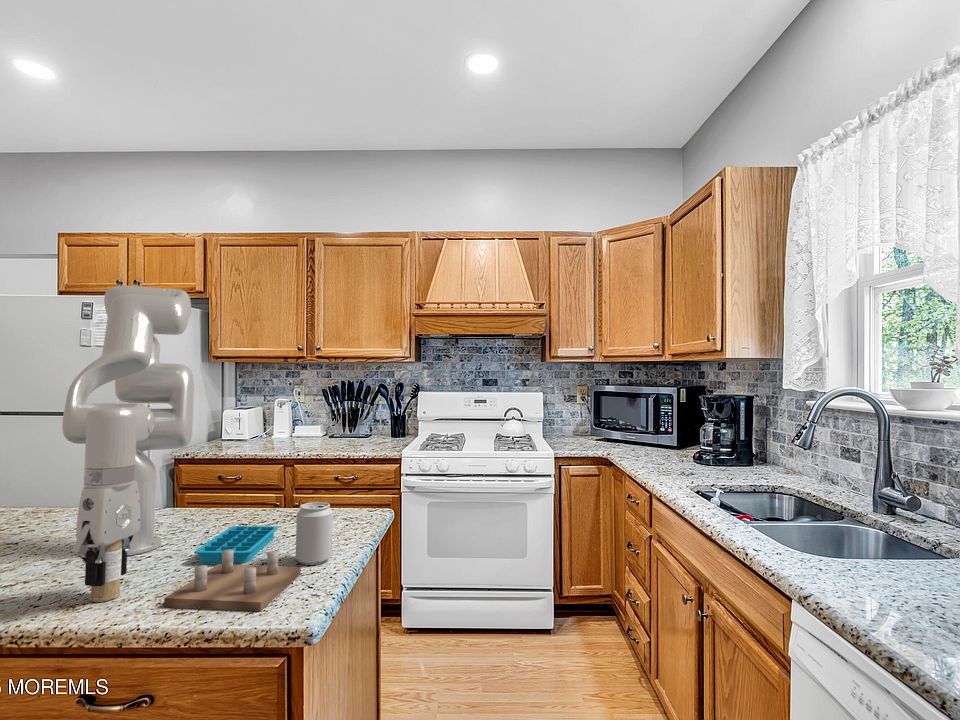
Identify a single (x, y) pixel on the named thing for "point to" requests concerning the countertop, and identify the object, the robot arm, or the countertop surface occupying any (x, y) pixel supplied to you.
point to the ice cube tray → (237, 544)
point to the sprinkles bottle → (109, 574)
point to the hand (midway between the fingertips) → (106, 578)
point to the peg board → (234, 585)
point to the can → (314, 533)
